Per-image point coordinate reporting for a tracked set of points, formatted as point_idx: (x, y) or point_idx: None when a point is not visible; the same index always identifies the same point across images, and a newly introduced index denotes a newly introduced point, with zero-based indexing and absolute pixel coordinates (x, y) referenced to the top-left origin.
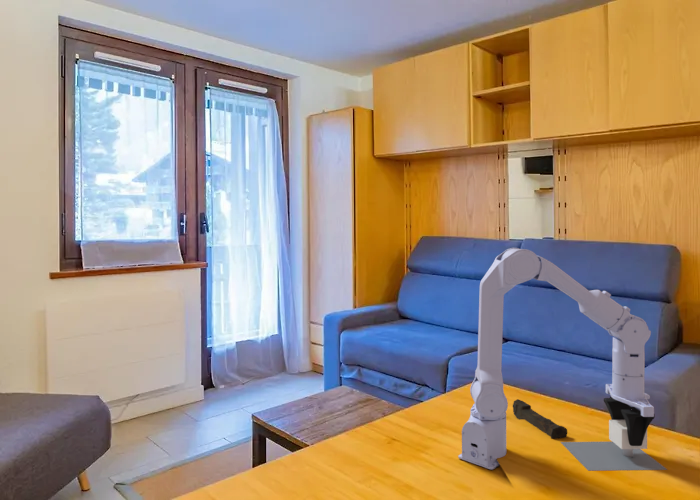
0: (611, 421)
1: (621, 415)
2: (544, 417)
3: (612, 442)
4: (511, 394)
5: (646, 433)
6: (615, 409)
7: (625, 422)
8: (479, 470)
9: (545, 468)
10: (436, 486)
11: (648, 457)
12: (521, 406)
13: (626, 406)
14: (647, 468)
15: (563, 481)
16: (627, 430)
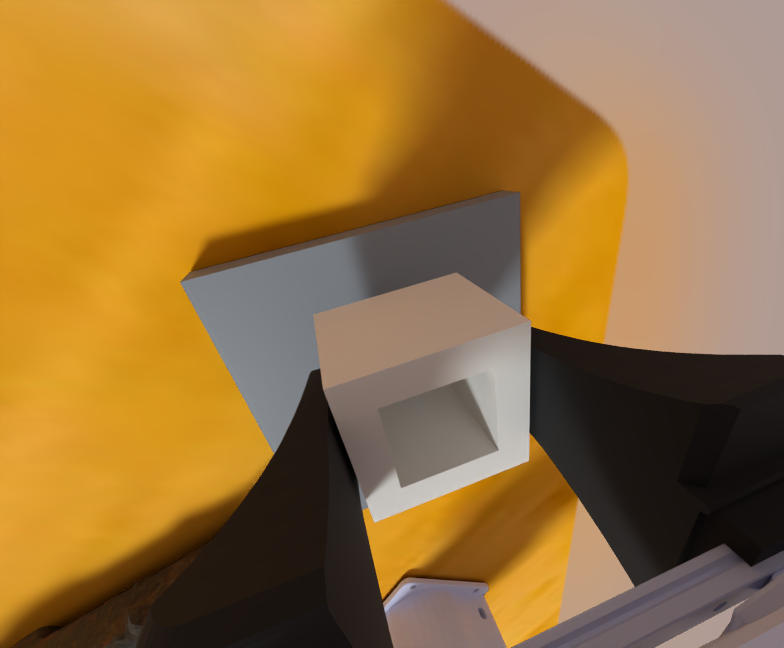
0: (403, 510)
1: (349, 494)
2: (126, 646)
3: (243, 371)
4: None
5: (507, 310)
6: (372, 583)
7: (384, 436)
8: (484, 594)
9: (467, 514)
10: (539, 610)
11: (400, 240)
12: None
13: (352, 559)
14: (509, 276)
15: (531, 476)
16: (530, 431)
